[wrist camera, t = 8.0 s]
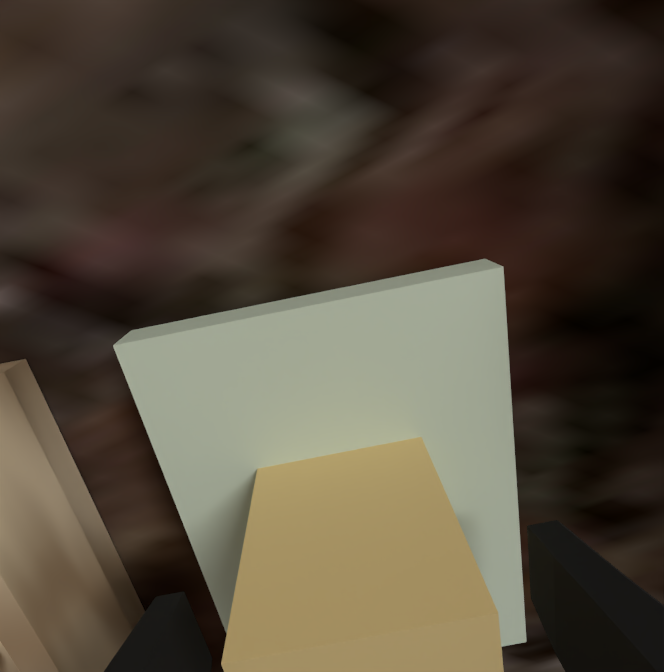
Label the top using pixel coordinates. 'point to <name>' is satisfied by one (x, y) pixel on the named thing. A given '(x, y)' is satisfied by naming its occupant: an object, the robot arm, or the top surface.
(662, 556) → the top surface
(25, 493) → the box
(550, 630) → the robot arm
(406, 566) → the lid
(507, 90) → the top surface
